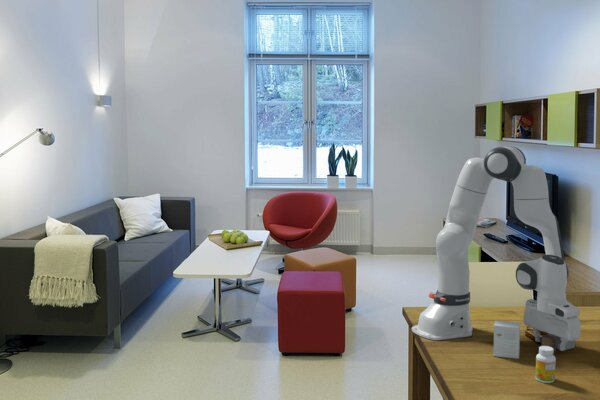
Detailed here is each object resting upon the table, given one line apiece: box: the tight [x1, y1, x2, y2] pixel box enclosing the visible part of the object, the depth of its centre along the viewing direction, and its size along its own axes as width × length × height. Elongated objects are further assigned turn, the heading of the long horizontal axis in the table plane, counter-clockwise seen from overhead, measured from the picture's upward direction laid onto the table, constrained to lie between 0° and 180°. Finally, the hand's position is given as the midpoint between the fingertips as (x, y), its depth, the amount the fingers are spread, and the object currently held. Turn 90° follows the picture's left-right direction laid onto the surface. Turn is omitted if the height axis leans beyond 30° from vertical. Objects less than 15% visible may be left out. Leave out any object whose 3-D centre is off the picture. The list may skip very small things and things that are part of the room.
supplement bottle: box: [534, 345, 557, 384], centre depth 187 cm, size 5×5×10 cm
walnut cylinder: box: [540, 334, 557, 355], centre depth 209 cm, size 4×4×5 cm
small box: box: [493, 320, 521, 360], centre depth 207 cm, size 8×6×10 cm
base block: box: [547, 333, 576, 351], centre depth 214 cm, size 6×6×5 cm
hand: (549, 345), depth 210 cm, fingers open, 8 cm apart
